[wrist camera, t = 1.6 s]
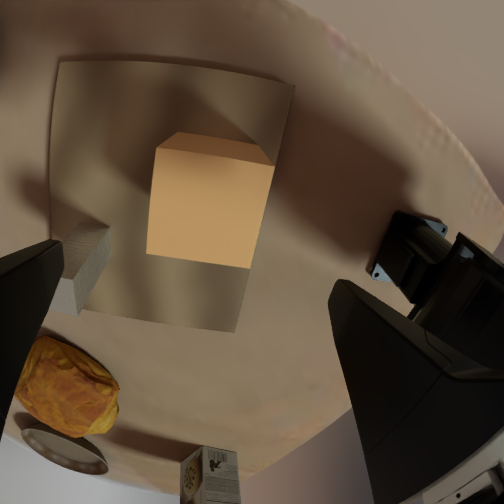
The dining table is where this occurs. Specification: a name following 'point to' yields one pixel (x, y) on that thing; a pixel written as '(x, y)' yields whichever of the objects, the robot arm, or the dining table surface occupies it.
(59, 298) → the post
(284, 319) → the dining table surface
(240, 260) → the orange rectangular block
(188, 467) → the coffee box
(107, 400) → the croissant
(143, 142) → the base board
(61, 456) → the plant saucer
